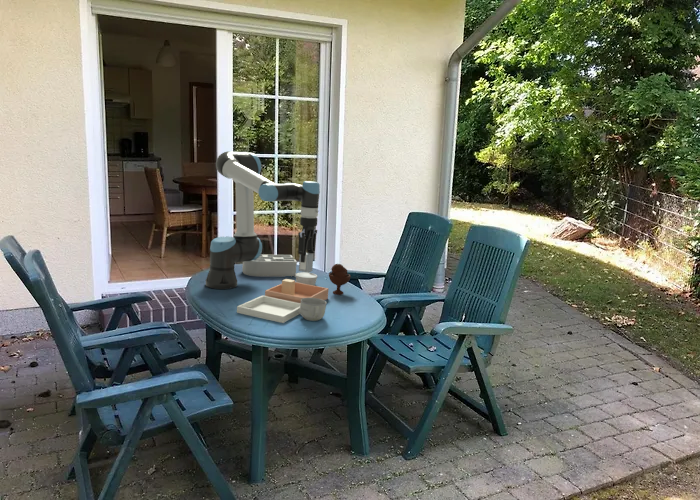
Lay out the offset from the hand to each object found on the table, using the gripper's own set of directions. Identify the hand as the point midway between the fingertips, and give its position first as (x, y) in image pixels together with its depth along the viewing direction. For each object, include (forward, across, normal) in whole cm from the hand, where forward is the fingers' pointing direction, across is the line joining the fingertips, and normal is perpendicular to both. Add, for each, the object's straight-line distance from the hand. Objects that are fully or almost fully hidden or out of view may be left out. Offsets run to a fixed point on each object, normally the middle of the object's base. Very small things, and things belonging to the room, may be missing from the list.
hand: (305, 268), depth 243 cm
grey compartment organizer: (+17, +36, +42) cm, 59 cm away
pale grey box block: (+1, 0, 0) cm, 1 cm away
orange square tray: (+17, +3, +5) cm, 18 cm away
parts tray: (+17, -20, +4) cm, 26 cm away
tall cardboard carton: (+16, +3, +10) cm, 19 cm away
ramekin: (+17, +29, +15) cm, 37 cm away
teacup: (+17, -18, -14) cm, 28 cm away
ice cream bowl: (+17, +26, -5) cm, 31 cm away
